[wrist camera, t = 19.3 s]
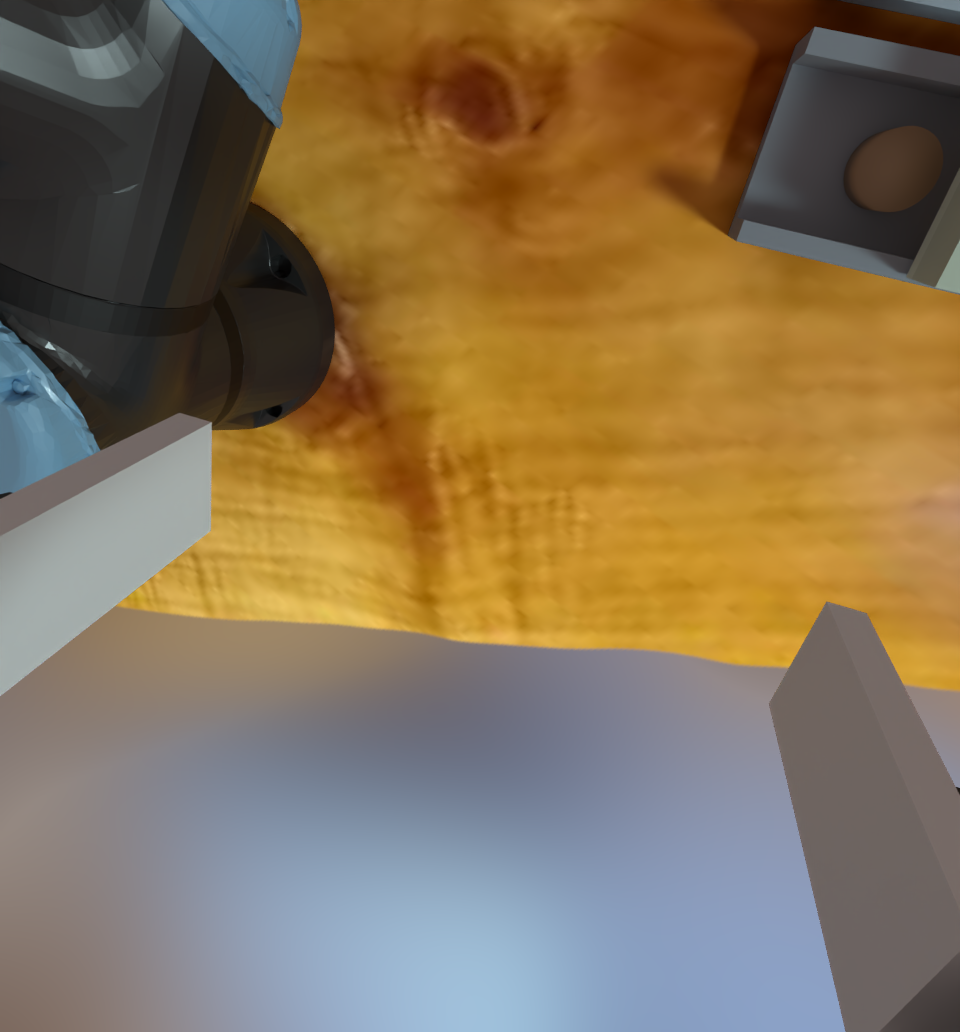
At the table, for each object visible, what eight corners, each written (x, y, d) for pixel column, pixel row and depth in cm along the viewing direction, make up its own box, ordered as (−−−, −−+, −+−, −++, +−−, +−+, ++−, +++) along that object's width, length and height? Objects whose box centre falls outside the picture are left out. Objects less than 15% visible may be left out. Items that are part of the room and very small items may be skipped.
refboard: (727, 235, 37) (736, 241, 34) (795, 44, 33) (814, 26, 29) (946, 287, 36) (980, 299, 32) (1046, 96, 32) (1100, 84, 28)
